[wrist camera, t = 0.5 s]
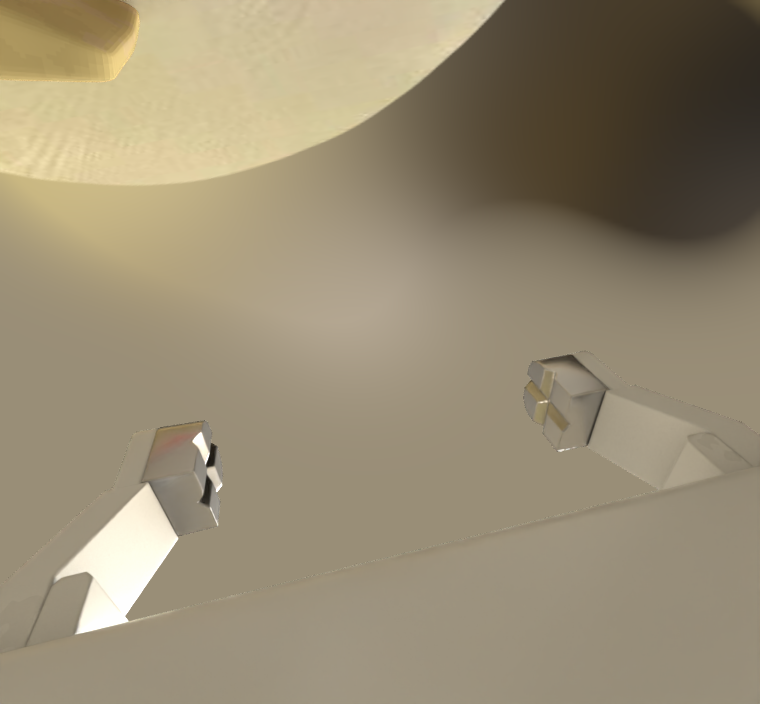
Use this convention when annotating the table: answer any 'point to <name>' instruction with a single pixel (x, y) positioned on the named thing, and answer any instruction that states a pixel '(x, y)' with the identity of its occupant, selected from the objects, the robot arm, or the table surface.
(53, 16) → the cheese
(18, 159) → the table surface
